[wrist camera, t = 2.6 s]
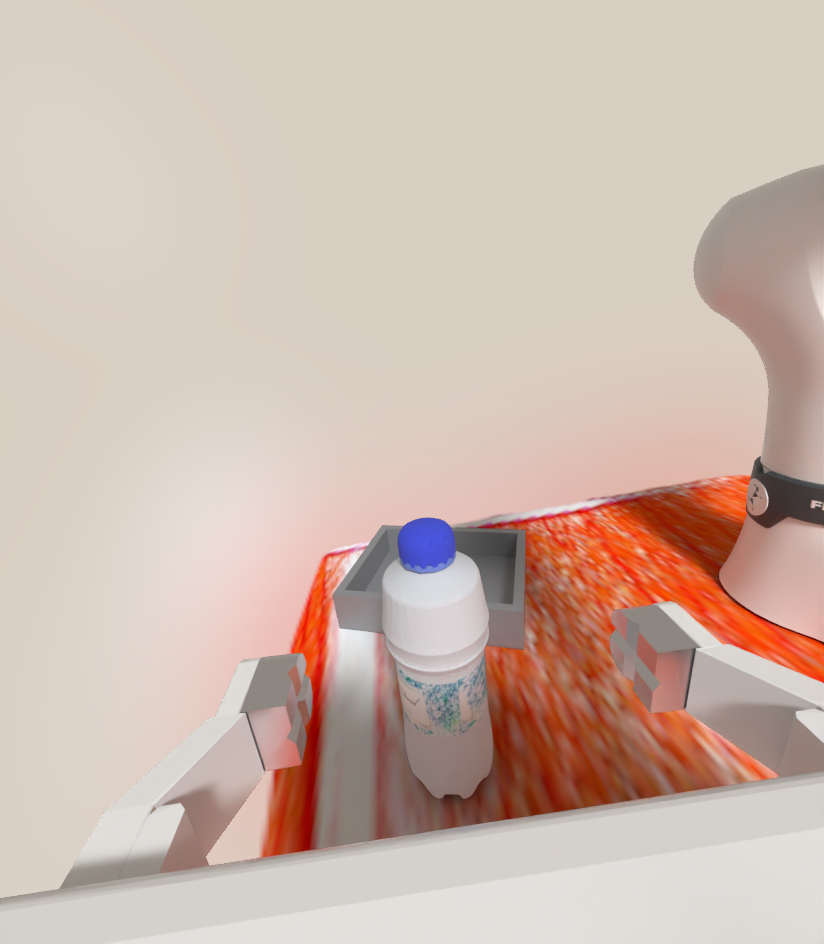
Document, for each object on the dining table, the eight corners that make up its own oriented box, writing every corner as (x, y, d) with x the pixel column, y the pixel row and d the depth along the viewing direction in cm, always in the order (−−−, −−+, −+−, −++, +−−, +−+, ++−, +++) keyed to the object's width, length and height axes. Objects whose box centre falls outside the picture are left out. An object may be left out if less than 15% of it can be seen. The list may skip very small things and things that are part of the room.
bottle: (396, 740, 32) (356, 515, 25) (471, 709, 33) (453, 491, 27) (425, 833, 25) (383, 568, 19) (516, 790, 27) (507, 534, 21)
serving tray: (526, 559, 53) (525, 529, 52) (524, 649, 39) (523, 612, 37) (386, 552, 59) (382, 525, 57) (339, 628, 45) (332, 594, 43)
